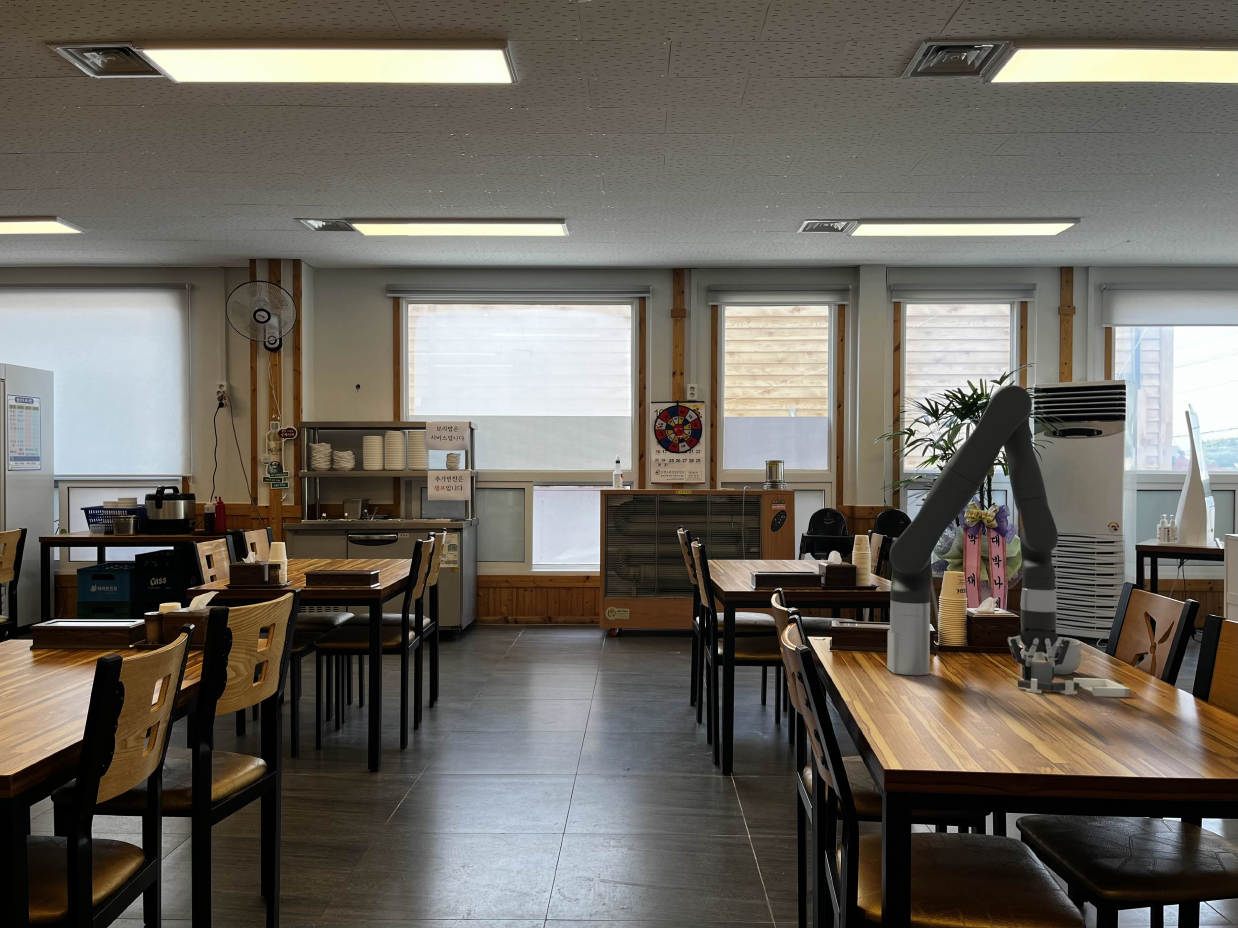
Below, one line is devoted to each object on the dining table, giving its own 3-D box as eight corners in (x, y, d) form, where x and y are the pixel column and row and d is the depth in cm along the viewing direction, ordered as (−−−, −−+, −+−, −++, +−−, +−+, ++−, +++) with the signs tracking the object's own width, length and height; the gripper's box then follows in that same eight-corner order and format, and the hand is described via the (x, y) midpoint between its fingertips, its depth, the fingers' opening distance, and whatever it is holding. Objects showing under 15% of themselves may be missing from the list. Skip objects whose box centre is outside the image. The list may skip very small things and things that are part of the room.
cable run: (1023, 690, 201) (1023, 683, 201) (1015, 685, 205) (1015, 679, 205) (1083, 691, 200) (1083, 685, 200) (1074, 687, 205) (1074, 680, 205)
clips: (1029, 693, 200) (1029, 680, 200) (1019, 687, 206) (1019, 675, 206) (1079, 694, 200) (1079, 681, 200) (1067, 688, 205) (1067, 676, 205)
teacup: (1089, 677, 218) (1089, 644, 219) (1043, 676, 219) (1044, 643, 219) (1062, 665, 232) (1062, 634, 232) (1019, 664, 233) (1019, 633, 233)
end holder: (1094, 696, 199) (1094, 687, 199) (1073, 685, 209) (1073, 677, 209) (1129, 696, 198) (1129, 688, 198) (1106, 686, 208) (1106, 678, 208)
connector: (1034, 685, 208) (1034, 663, 208) (1023, 680, 214) (1023, 658, 214) (1052, 686, 208) (1052, 663, 208) (1041, 680, 214) (1041, 658, 214)
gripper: (1013, 609, 208) (1013, 685, 207) (1077, 611, 207) (1076, 686, 207) (1001, 605, 215) (1000, 677, 215) (1062, 606, 215) (1061, 679, 214)
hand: (1037, 681), depth 211 cm, fingers closed on connector, 4 cm apart
